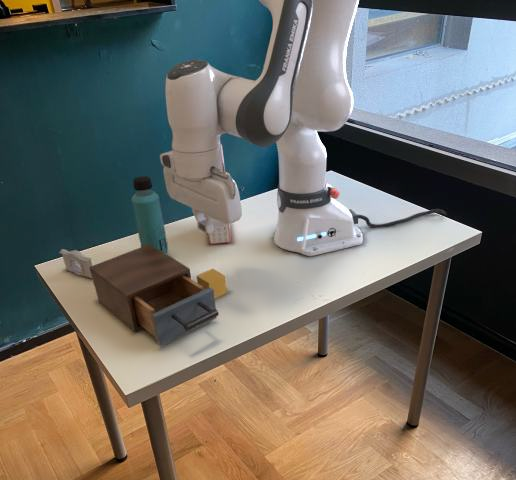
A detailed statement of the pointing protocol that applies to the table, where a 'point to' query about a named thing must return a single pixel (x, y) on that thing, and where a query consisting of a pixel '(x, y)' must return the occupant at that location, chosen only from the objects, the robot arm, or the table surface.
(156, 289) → the drawer
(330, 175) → the table surface
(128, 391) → the table surface
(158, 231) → the beverage bottle
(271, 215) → the table surface
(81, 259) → the garden wall model
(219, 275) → the block
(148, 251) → the cabinet
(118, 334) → the table surface
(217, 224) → the cracker box
